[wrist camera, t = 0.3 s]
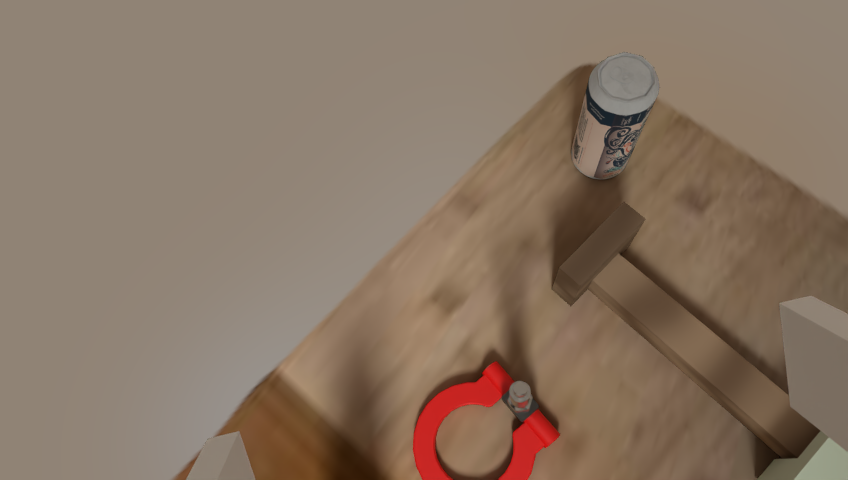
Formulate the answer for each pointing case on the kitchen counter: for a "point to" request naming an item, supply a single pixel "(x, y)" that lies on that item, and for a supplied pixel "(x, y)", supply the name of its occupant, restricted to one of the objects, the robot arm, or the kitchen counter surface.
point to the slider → (812, 463)
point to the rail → (680, 335)
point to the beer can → (613, 114)
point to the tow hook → (486, 393)
